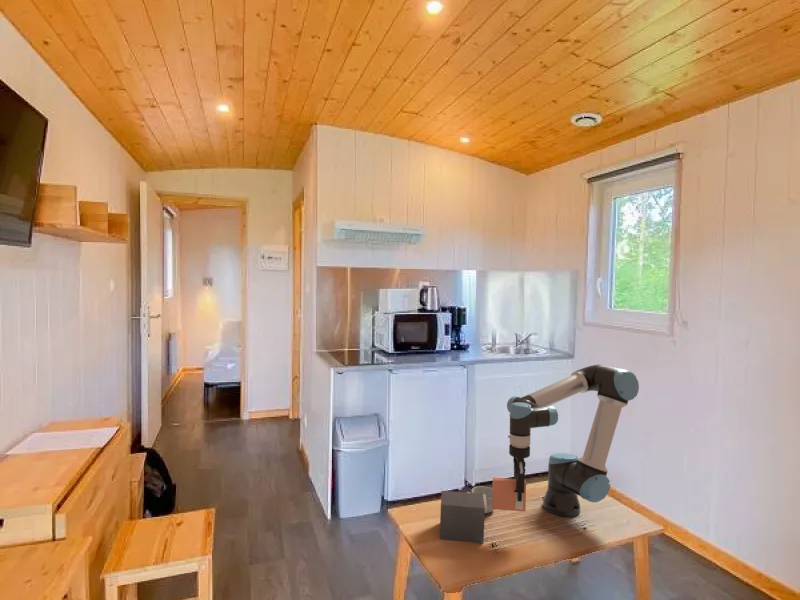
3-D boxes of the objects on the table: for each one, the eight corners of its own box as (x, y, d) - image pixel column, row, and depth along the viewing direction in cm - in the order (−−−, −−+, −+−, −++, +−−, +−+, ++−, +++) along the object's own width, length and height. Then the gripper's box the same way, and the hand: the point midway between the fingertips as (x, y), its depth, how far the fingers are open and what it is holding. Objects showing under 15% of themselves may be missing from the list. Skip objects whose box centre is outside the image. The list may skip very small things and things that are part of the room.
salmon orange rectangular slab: (524, 508, 175) (525, 479, 175) (525, 511, 172) (526, 482, 172) (492, 506, 176) (492, 477, 176) (492, 509, 174) (493, 480, 173)
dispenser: (484, 526, 181) (485, 494, 181) (486, 543, 170) (487, 508, 169) (440, 522, 183) (441, 490, 183) (439, 539, 172) (440, 504, 171)
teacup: (495, 505, 200) (495, 486, 200) (498, 517, 189) (498, 498, 189) (462, 502, 202) (463, 484, 201) (463, 514, 191) (464, 495, 191)
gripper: (507, 437, 181) (506, 496, 182) (511, 451, 166) (510, 516, 167) (526, 438, 180) (525, 497, 181) (533, 452, 165) (531, 517, 166)
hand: (518, 506), depth 174 cm, fingers closed on salmon orange rectangular slab, 2 cm apart
